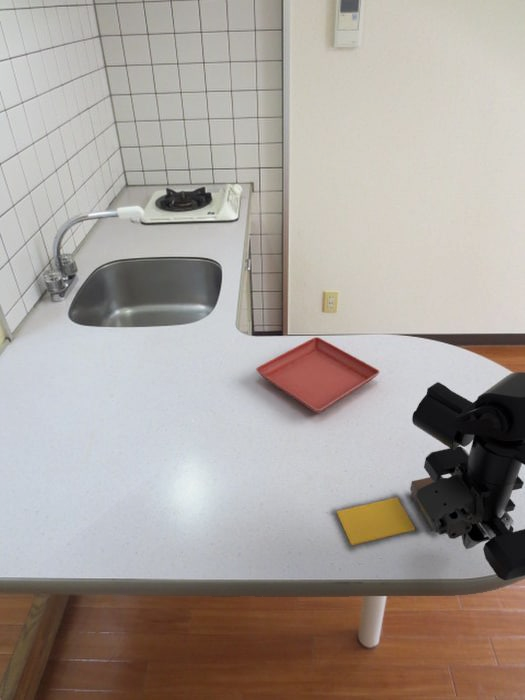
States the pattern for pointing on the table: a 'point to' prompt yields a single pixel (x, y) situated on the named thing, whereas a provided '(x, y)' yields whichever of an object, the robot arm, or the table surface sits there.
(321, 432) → the table surface
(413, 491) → the brown rectangular block
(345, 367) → the plant saucer
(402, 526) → the cloth
